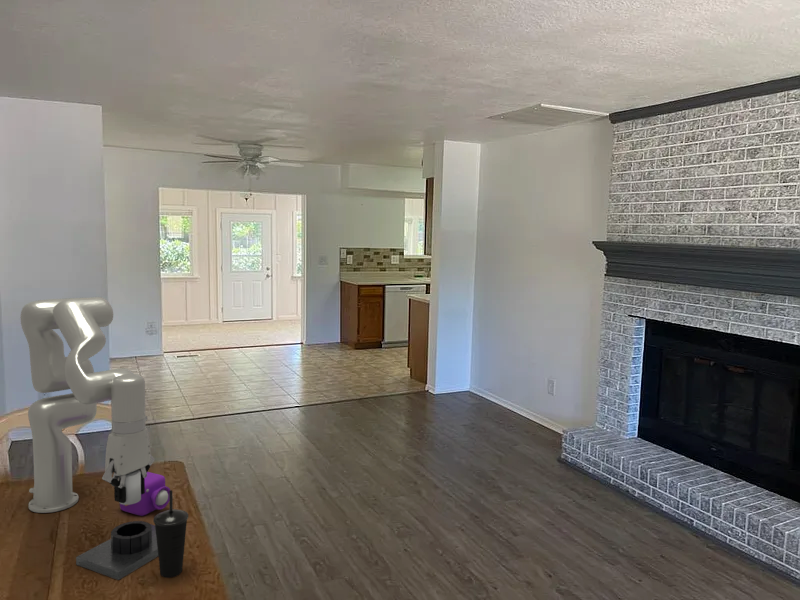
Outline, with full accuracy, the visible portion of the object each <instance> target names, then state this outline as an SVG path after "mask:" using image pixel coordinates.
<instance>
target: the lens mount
mask: <svg viewBox="0 0 800 600" xmlns="http://www.w3.org/2000/svg"><path fill="white" fill-rule="evenodd" d="M157 557H158V558H159V556H158V547H157V538H156V529H155V524H152V523H150V522H147V521H143V520H134V521H133V520H132V521H128V522H123V523H121V524H119V525H117V526H114V528H113V529H112V530H111V531H110V538H109V539H107V540H106V541H104V542H102V543H99V545H96V546H94V547H93V548H90V549H89V550H87V551H85V552H83V553H81V554H79V555H77V556H76V557H75V560H76V561H75V562H76V563H75V565H76V566H79V567H81V568H84V569H87V570H88V571H89V570H90V571H93V572H95V573H98V574H100V575H103V576H106V577H109V578H112V579H115V580H116V581H120V580H121V579H123V578H125V577H127V576H128V575H130V574H131V573H133V572H134V571H136V570H138V569H140V568H141V567H143V566H145V565H147V564H149V562H151V561H152V560H154V559H156V558H157Z"/></svg>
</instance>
